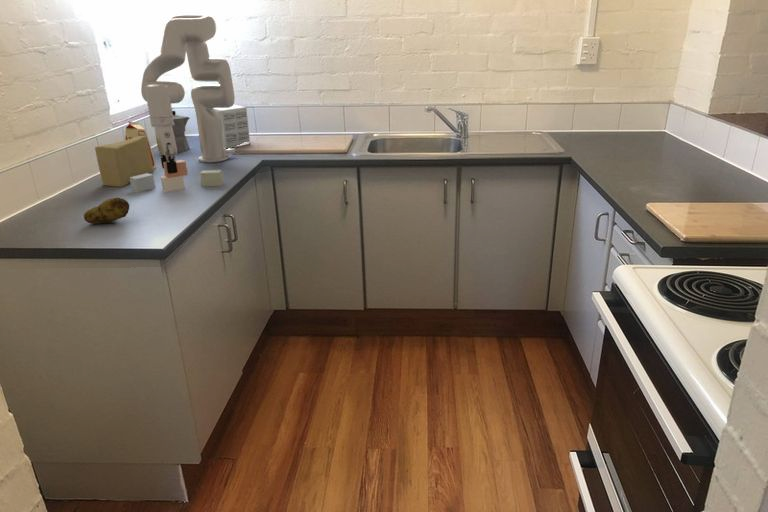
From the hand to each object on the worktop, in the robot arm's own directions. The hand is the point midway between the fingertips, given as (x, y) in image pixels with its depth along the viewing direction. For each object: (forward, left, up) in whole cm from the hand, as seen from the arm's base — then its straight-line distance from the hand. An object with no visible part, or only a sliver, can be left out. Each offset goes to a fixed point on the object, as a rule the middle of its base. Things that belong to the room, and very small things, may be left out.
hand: (169, 170), depth 205 cm
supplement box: (-42, -64, -7) cm, 77 cm away
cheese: (+10, -23, -7) cm, 26 cm away
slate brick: (+9, -6, -7) cm, 13 cm away
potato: (+25, +27, -7) cm, 38 cm away
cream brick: (0, 0, -7) cm, 7 cm away
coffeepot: (-17, -65, -7) cm, 68 cm away
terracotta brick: (-2, 0, -2) cm, 3 cm away
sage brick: (-14, +2, -7) cm, 16 cm away
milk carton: (+4, -37, -7) cm, 38 cm away
